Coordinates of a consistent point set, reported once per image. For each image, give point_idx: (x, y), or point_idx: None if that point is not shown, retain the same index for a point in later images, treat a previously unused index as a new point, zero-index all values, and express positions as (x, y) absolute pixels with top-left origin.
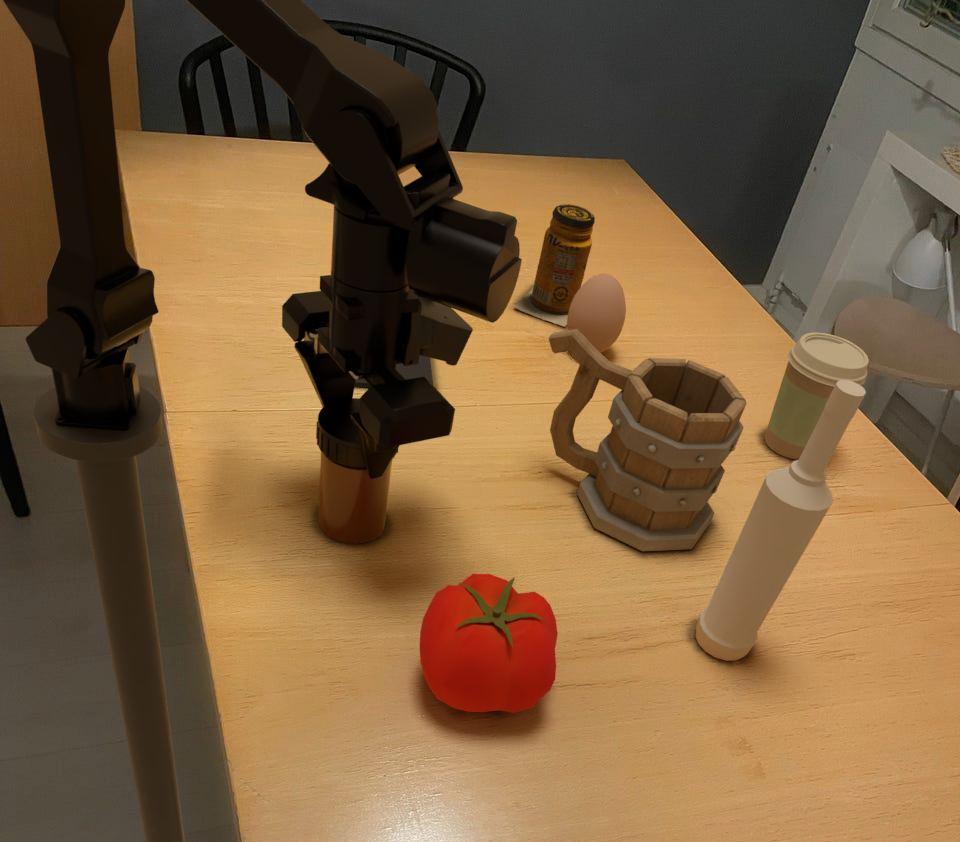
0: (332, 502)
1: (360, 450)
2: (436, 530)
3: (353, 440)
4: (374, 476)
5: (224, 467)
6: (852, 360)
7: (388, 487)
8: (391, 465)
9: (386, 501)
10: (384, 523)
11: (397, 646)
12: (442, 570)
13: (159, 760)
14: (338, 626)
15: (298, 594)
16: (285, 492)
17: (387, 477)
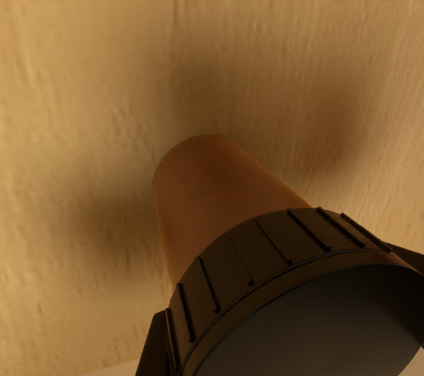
0: None
1: (422, 345)
2: (241, 38)
3: (396, 370)
4: None
5: (70, 341)
6: None
7: (271, 174)
8: (291, 195)
9: (259, 163)
10: (235, 144)
11: (416, 154)
12: (334, 59)
13: None
14: (368, 211)
15: None
16: (127, 270)
17: (300, 196)
